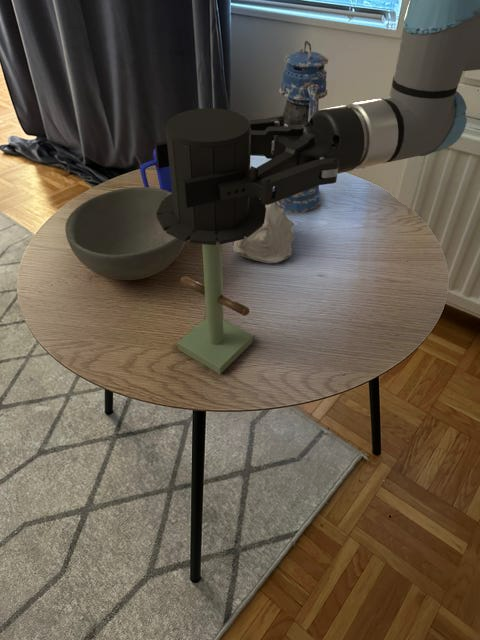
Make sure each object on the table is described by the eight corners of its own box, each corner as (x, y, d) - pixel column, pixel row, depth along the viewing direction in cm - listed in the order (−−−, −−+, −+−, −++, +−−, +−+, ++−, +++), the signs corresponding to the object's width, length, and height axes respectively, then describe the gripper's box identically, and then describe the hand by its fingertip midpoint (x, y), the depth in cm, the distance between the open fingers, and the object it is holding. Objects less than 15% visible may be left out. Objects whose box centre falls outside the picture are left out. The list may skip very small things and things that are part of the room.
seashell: (270, 220, 98) (273, 174, 91) (303, 258, 89) (309, 210, 82) (214, 232, 94) (212, 186, 87) (241, 274, 85) (242, 225, 78)
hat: (285, 208, 58) (293, 119, 51) (220, 258, 51) (218, 163, 43) (205, 177, 63) (201, 93, 56) (135, 218, 56) (120, 128, 49)
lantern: (256, 183, 109) (261, 32, 88) (308, 178, 111) (325, 28, 90) (275, 220, 98) (286, 57, 77) (332, 213, 100) (358, 52, 79)
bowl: (62, 253, 89) (47, 205, 82) (162, 221, 97) (157, 175, 90) (102, 317, 77) (89, 267, 70) (213, 275, 85) (211, 226, 78)
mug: (135, 199, 103) (128, 155, 96) (181, 181, 109) (177, 138, 102) (157, 215, 99) (151, 169, 92) (204, 195, 105) (201, 151, 98)
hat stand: (262, 347, 72) (270, 210, 56) (230, 380, 68) (228, 242, 52) (203, 315, 77) (194, 181, 61) (169, 344, 73) (150, 207, 57)
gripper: (396, 208, 54) (208, 257, 47) (301, 134, 68) (145, 164, 61) (414, 143, 49) (204, 187, 42) (307, 77, 63) (137, 103, 56)
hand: (170, 173), depth 52 cm, fingers closed on hat, 9 cm apart
